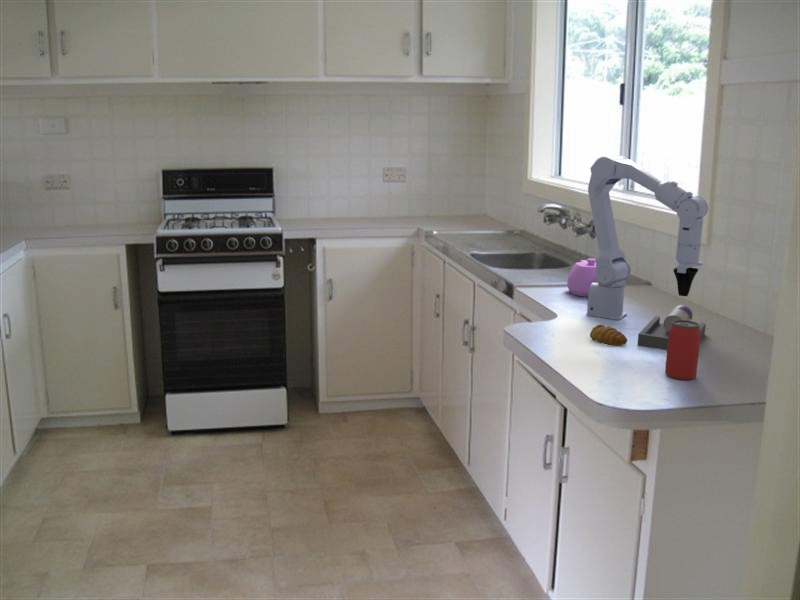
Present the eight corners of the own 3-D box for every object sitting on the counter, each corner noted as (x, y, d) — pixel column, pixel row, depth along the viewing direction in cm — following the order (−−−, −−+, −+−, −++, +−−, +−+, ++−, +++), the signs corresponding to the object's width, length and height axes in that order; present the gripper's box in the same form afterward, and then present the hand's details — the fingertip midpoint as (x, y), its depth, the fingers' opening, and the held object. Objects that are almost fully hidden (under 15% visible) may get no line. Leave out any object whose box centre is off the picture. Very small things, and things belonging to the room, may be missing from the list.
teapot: (577, 302, 245) (579, 265, 243) (560, 287, 265) (562, 253, 262) (620, 302, 246) (624, 266, 244) (600, 287, 266) (603, 253, 263)
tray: (637, 345, 202) (638, 333, 201) (654, 326, 219) (655, 316, 219) (691, 354, 196) (692, 342, 196) (704, 334, 214) (705, 323, 213)
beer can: (659, 371, 183) (665, 319, 180) (688, 371, 184) (694, 319, 181) (671, 381, 177) (677, 327, 174) (701, 380, 177) (707, 327, 175)
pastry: (633, 345, 203) (634, 330, 202) (615, 349, 199) (616, 334, 198) (604, 336, 210) (605, 322, 210) (586, 340, 207) (587, 325, 206)
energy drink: (694, 323, 216) (686, 333, 206) (673, 325, 219) (665, 336, 209) (690, 303, 216) (682, 313, 206) (670, 306, 219) (660, 316, 208)
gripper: (700, 249, 203) (694, 303, 207) (709, 241, 216) (703, 292, 219) (671, 247, 207) (665, 299, 210) (681, 239, 219) (676, 288, 222)
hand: (683, 295), depth 215 cm, fingers closed
